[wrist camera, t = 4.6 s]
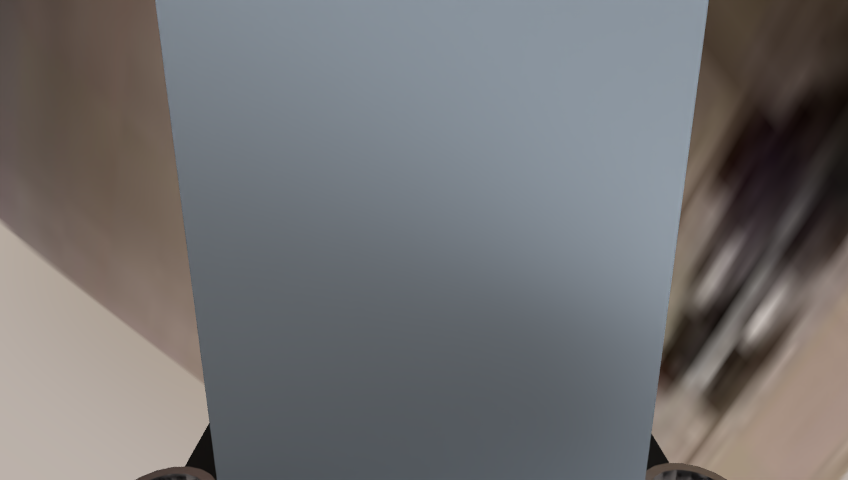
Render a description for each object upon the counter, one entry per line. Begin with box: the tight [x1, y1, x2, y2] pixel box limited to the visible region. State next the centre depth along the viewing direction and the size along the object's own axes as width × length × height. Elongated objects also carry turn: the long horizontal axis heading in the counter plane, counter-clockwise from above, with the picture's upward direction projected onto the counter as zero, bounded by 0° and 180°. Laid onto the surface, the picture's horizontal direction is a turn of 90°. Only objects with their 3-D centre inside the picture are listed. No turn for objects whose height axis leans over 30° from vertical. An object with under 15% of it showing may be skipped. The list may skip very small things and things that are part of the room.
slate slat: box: [155, 0, 709, 480], centre depth 9 cm, size 4×14×6 cm, turn 0°
